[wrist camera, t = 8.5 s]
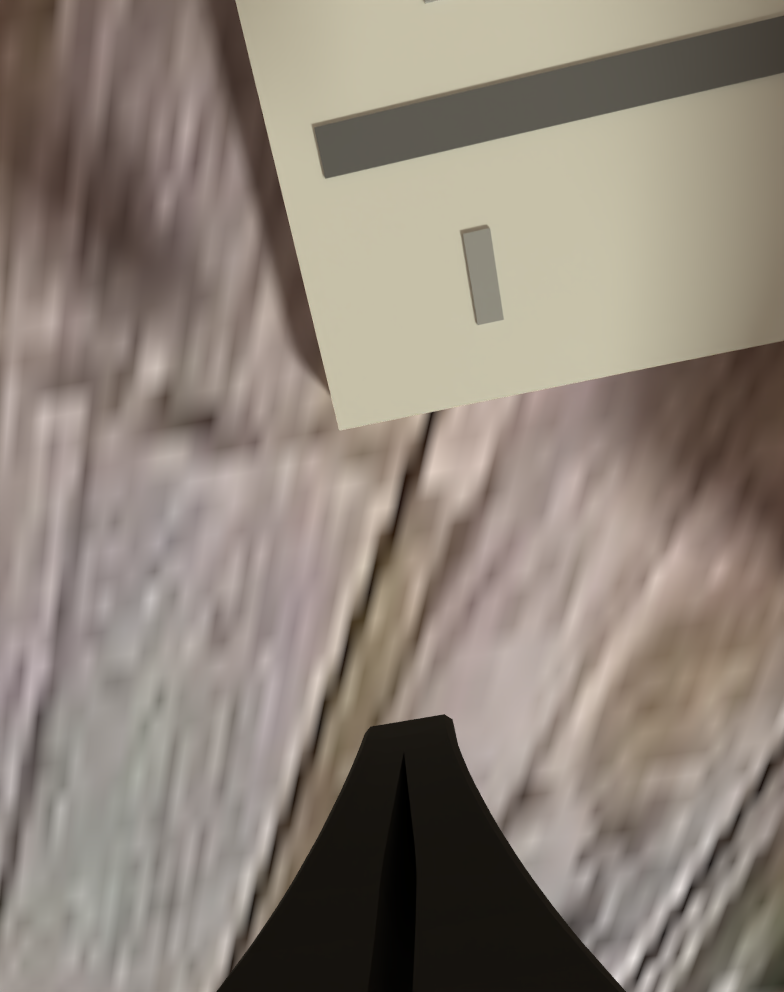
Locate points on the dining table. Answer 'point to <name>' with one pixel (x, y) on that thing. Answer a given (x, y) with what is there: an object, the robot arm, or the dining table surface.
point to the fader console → (524, 187)
